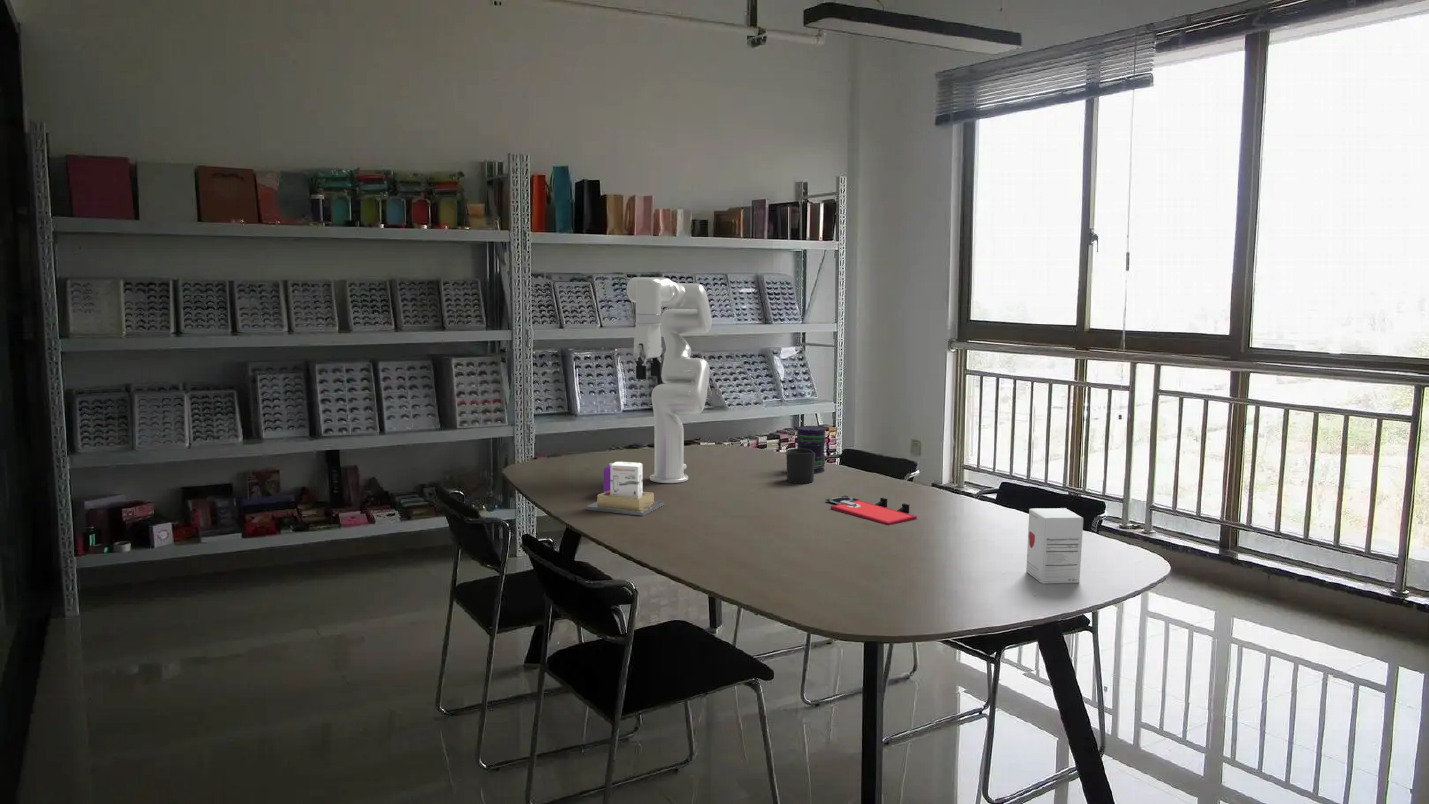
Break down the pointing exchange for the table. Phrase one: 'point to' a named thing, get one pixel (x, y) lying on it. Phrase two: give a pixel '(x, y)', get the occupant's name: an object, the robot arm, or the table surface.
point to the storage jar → (813, 443)
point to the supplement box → (1054, 545)
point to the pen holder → (800, 465)
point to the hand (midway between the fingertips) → (648, 377)
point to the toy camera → (607, 477)
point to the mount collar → (625, 504)
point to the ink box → (626, 479)
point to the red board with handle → (872, 510)
